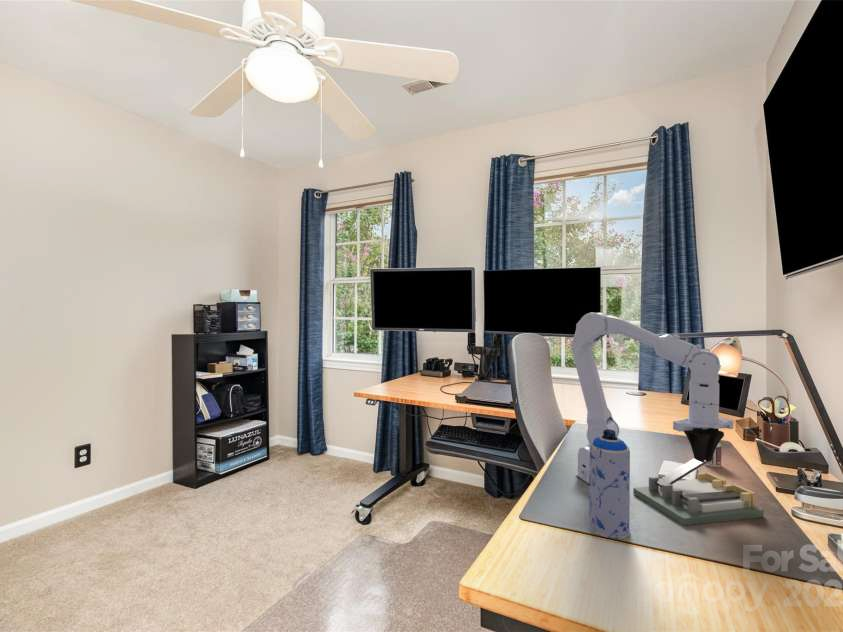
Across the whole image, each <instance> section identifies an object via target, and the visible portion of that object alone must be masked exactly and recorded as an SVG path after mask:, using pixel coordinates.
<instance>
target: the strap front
mask: <svg viewBox="0 0 843 632" xmlns="http://www.w3.org/2000/svg"><path fill="white" fill-rule="evenodd" d="M692 497H696V498H698V499H699V502H705V501H717V500H730V499H740V494H739V493H737V492H735V491H721V492H708V493H695V494H683V495H680V498H682V499H684V500H686V501H688V498H692Z"/></svg>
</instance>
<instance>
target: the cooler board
mask: <svg viewBox="0 0 843 632" xmlns="http://www.w3.org/2000/svg"><path fill="white" fill-rule="evenodd" d="M658 480H660V477H658V476H649V477H648V486H640V487H639V486H638V487H633V491H632V492H633V493H632V494H633V495H634V494H635V495H634V496H636V497H637V496H638V497H637V498H639V497H640V498H641V500H642V499H643V500H642V501H644V502H645V501H646V503H647V502H648V503H649V505H650V504H651V505H650V506H651V507H654V508H655V509H656V508H657V509H656V510H658V511H660V512H661V513H663V514H664V513H665V515H666V516H668V517H669V516H670V518H671V519H672V518H673V520H674V521H675V522H677V523H679V524H680V525H682V526H684V527H685V526H686V525H687V526H694V525H693V524H696V525H701V524H700V523H705V524H711V523H710V522H713V523H721V522H720V521H722V522H730V521H731V522H732V521H737V520H748V519H755V518H764V515H765V514H764V513H765V512H764V509H763V508H761V507H758V506H757V505H756V502H757V501H756V500H757V497H756V496H757V493H756V492H754V491H752V490H750V489H747V488H745V487H742V486H740V485H737V484H735V483H731V484H727V479H724V478H722V477H720V476H717V475H715V474H712V473H711V472H708V471H706V472H697V474H696V479H693V480H682V481H677V482H675V483H673V484H672V485H671V484H662V487H660V486H658V485H657V484H656V481H658ZM721 491H735V492H737V493H739V494H740V499H730V500H717V501H705V502H699V499H698V498H696V497H692V498H688V501H686V500H684V499H682V498H680V495H683V494H695V493H708V492H721ZM640 498H639V499H640ZM648 503H647V504H648Z"/></svg>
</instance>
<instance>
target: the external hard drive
mask: <svg viewBox="0 0 843 632" xmlns="http://www.w3.org/2000/svg"><path fill="white" fill-rule="evenodd" d="M661 464H662V465H661V467H660V469H659V472H658V474H657V477H658V478H660V477H664V476H666V475H668V474H669V473H671V472H673V471H674V470H676V469H677V468H679V467H681V466H682V465H684V464H685V463H680V462H677V461H670V460H663V461H662V463H661ZM697 473H698V468H697V469H696V470H694V471H693V472H691V473H689V474H688V475H686V476H685V477H683V478H681V479H680V480H678V481H682V480H693V479H697Z"/></svg>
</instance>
